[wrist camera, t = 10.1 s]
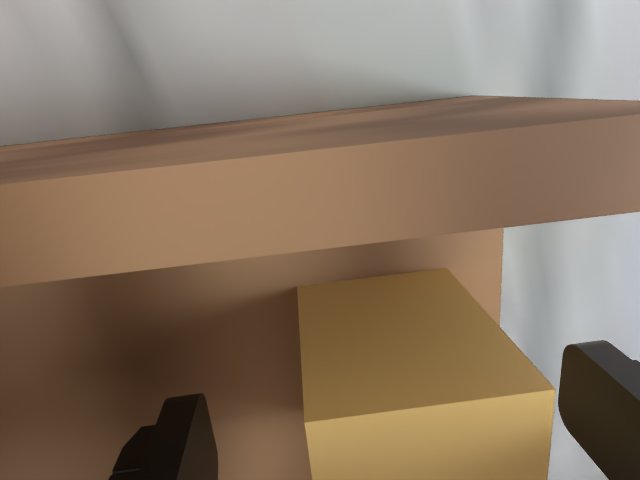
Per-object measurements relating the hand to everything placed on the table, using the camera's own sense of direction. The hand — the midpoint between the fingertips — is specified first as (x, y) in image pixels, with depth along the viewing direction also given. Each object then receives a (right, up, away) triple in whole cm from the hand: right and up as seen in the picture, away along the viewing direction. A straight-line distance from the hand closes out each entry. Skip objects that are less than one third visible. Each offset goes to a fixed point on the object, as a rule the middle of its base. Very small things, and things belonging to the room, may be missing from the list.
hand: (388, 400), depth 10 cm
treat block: (0, +1, +3) cm, 3 cm away
